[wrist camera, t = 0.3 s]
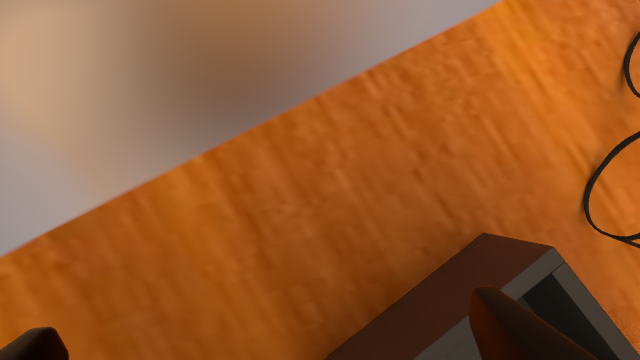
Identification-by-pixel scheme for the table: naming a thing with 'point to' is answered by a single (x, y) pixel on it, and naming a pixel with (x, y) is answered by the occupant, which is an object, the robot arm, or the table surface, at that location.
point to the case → (454, 302)
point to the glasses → (613, 153)
